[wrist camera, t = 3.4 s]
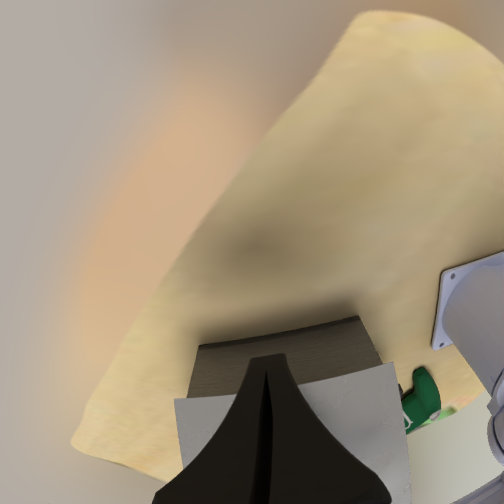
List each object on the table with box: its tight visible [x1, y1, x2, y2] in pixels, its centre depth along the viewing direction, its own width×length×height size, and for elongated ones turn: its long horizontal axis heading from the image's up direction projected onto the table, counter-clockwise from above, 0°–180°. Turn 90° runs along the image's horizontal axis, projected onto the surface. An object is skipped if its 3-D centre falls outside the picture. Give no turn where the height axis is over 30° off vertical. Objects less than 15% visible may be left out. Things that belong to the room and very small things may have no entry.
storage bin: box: [187, 315, 403, 398], centre depth 20 cm, size 16×12×6 cm
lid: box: [174, 362, 412, 504], centre depth 12 cm, size 13×13×1 cm
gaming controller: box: [401, 368, 441, 434], centre depth 23 cm, size 9×4×6 cm
